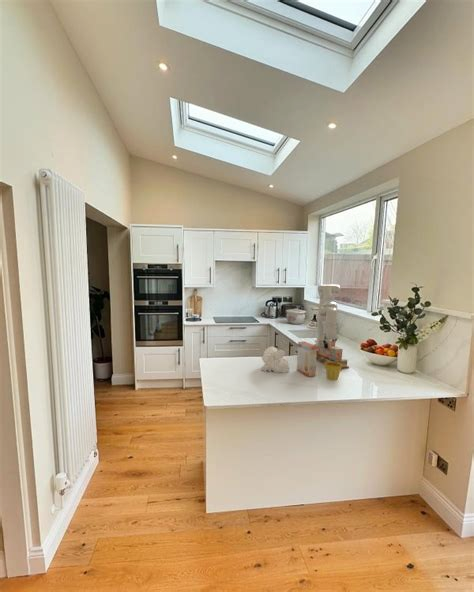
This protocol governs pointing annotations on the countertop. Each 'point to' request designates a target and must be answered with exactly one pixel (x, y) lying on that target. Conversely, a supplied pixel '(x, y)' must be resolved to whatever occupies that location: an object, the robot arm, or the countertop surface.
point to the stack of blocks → (330, 350)
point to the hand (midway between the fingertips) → (329, 347)
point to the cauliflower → (275, 360)
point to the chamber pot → (295, 316)
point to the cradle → (325, 359)
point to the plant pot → (333, 370)
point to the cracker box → (306, 358)
